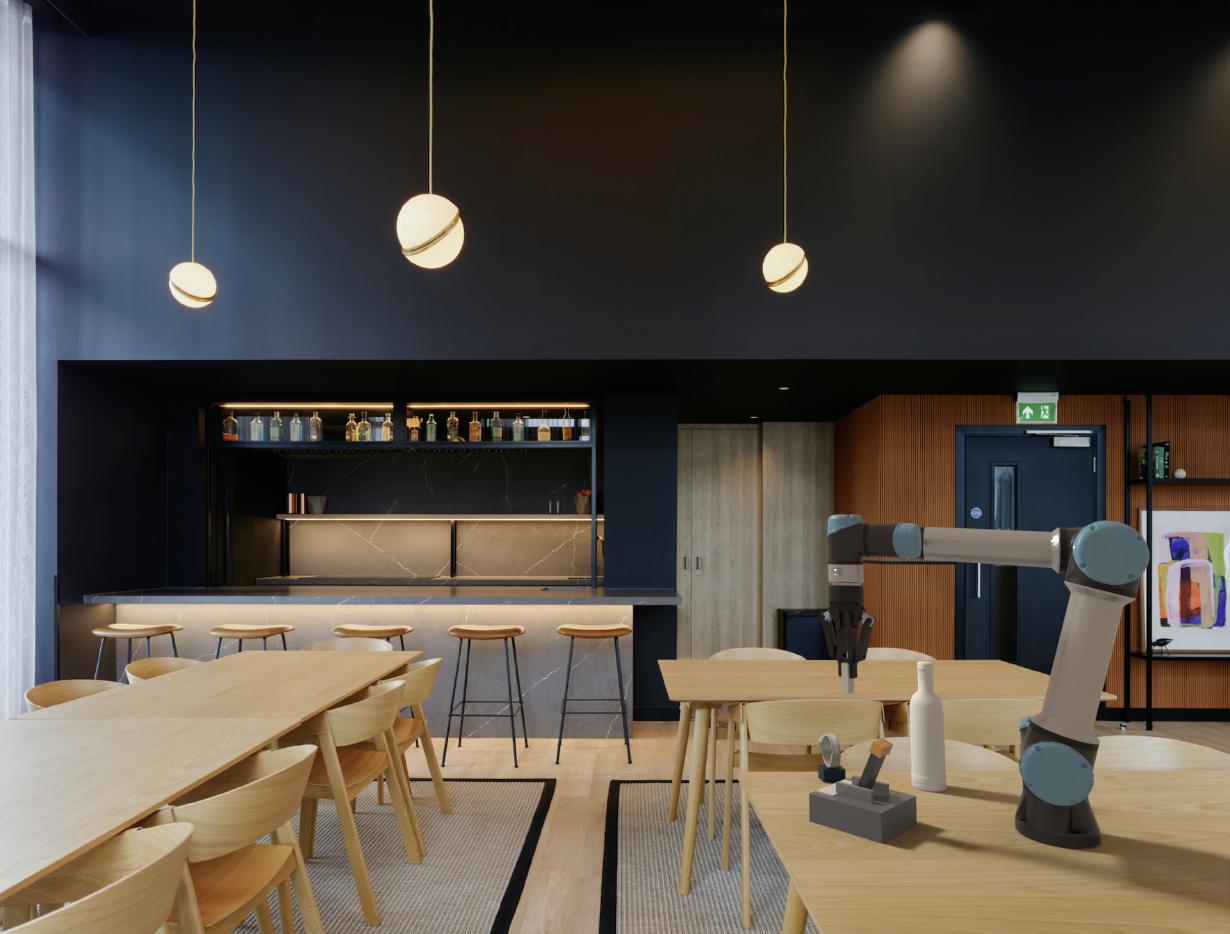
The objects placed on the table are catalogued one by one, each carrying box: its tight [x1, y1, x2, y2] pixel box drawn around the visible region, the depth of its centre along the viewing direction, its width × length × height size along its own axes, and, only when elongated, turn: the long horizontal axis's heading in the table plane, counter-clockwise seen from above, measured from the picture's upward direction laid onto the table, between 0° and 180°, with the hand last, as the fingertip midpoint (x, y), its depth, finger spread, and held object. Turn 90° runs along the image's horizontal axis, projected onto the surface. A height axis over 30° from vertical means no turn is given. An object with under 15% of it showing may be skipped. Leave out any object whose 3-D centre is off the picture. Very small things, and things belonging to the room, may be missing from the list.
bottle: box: [909, 660, 947, 793], centre depth 182 cm, size 8×8×30 cm
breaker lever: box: [857, 737, 894, 789], centre depth 155 cm, size 2×4×11 cm, turn 132°
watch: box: [816, 733, 847, 784], centre depth 186 cm, size 6×8×11 cm
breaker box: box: [808, 774, 918, 844], centre depth 156 cm, size 16×16×8 cm
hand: (848, 692), depth 161 cm, fingers closed
